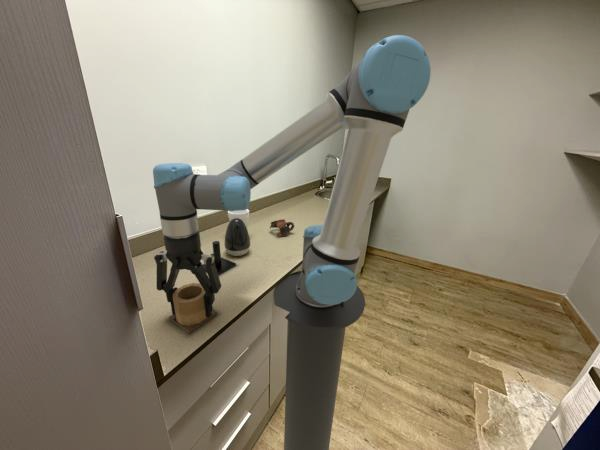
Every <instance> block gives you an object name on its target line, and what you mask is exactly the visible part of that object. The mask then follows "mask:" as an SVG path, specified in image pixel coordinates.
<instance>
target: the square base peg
mask: <svg viewBox="0 0 600 450" xmlns="http://www.w3.org/2000/svg"><path fill="white" fill-rule="evenodd" d="M220 242H221V241H219V240H214V241H212V244H211V245H212V254H214V255H215V266H216V269H217V273H218V276H220V275H222V274H224V273H226V272H228V271H229V270H231V269H233V268H234V267H236V266H237V263H236V262H233V261H231V260H229V259H226V258H224V257H222V255H221V244H220ZM202 265H203V269H204V271H205V272H206V273H207V270H206V265H205V264H204V263H202Z"/></svg>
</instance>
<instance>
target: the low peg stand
mask: <svg viewBox="0 0 600 450" xmlns="http://www.w3.org/2000/svg"><path fill="white" fill-rule="evenodd" d="M189 299H193V298H189ZM189 299H188V300H189ZM216 316H218V311H217V310H215V309H213V310H212V312H211V314H210V316H209V317H207V318H206V319H204V320H203V321H202V322H200V323H198V324H194V325H181V324H180V323H178V322H177V319H176V315H173V314H172V315H170V316H168V319H169V321H170V322H171V323H172V324H174V325H176V326H177V327H179V328H180V329H182V330H183V331H184V332H185V333H187V334H189V335H191V334H192V333H193V332H195V331H196V330H198V329H199V328H201V327H202V326H203V325H204V324H206V323H208V322H209V321H210V320H212V319H213V318H214V317H216Z"/></svg>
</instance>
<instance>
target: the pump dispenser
mask: <svg viewBox="0 0 600 450" xmlns="http://www.w3.org/2000/svg"><path fill="white" fill-rule="evenodd" d="M223 242H224V248H225V250H226V252H227V253H228V254H229V255H230V256H234V257H241V256H244V255H245V254H247V253H248V252H249V250H250V247H251V245H252V244H251V238H250V233H249V231H248V230H247V228H246V225H245V223H244V222H243V221H242V220H241V219H240V218H233V219H232V220H231V221H228V224H227V227H226V230H225V235H224V241H223Z"/></svg>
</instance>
